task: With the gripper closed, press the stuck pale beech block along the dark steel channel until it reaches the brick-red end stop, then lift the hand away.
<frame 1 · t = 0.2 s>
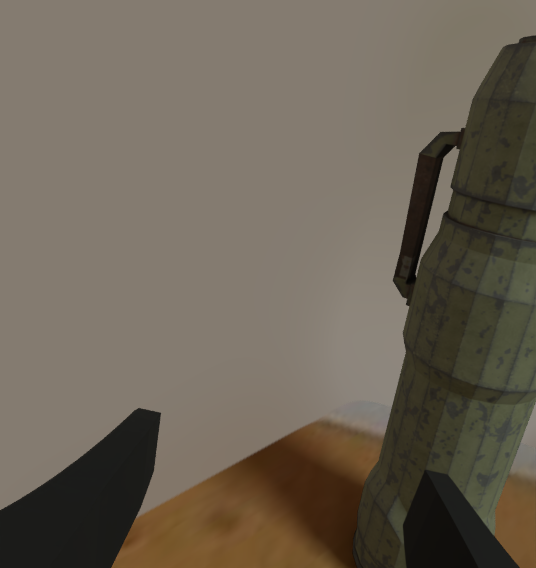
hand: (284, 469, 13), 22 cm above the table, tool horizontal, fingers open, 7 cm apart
thermos: (408, 562, 36), on the table
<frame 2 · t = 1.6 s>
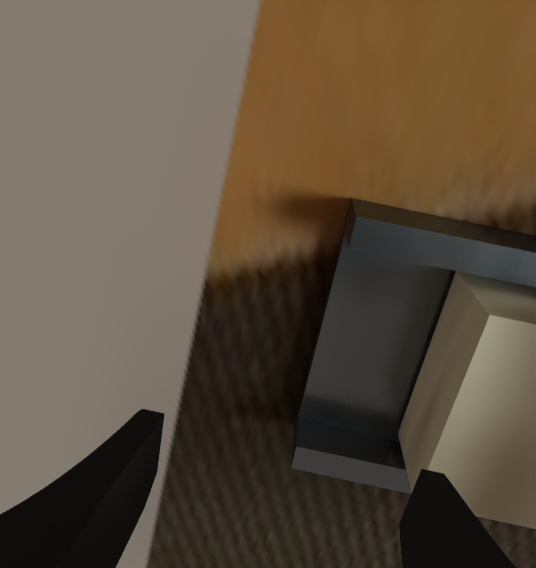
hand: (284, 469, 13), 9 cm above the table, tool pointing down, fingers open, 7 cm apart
block: (513, 401, 19), point 3 cm above the table, slide at 0.0 cm
chute: (518, 364, 22), on the table
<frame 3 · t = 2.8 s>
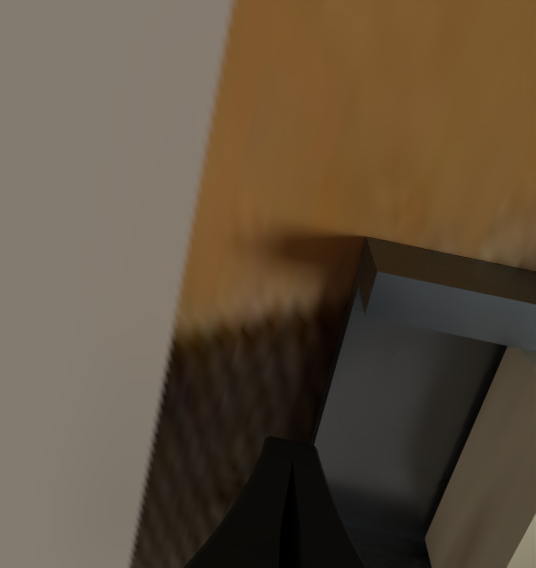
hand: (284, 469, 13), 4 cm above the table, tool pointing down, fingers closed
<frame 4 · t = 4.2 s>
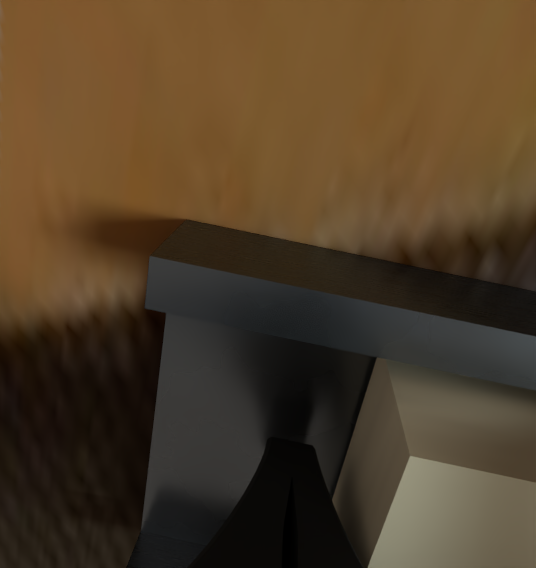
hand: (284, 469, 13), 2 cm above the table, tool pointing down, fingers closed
block: (469, 553, 12), point 3 cm above the table, slide at 1.0 cm, touching gripper
chute: (454, 460, 15), on the table
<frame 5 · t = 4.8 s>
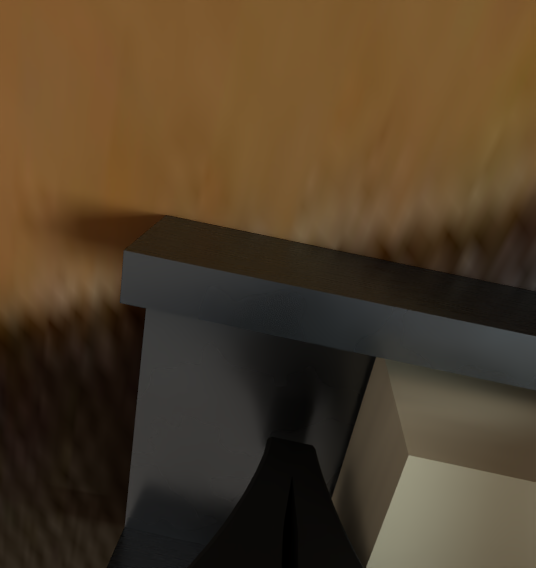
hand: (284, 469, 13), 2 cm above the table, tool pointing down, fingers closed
block: (468, 552, 12), point 3 cm above the table, slide at 1.5 cm, touching gripper
chute: (436, 456, 15), on the table
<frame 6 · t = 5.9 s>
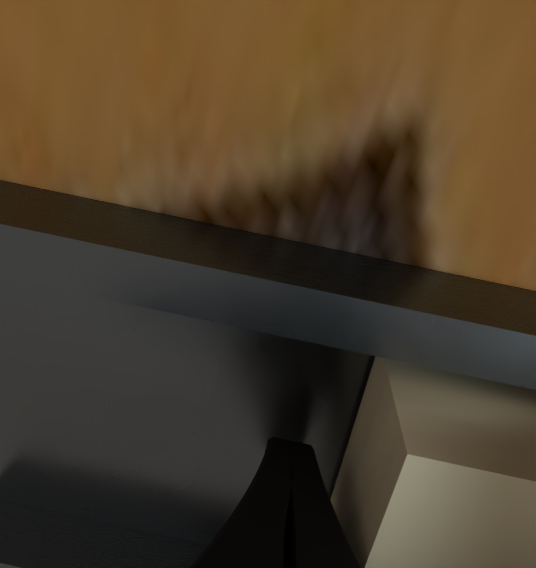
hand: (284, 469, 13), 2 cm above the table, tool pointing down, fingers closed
block: (467, 551, 12), point 3 cm above the table, slide at 6.2 cm, touching gripper
chute: (283, 423, 15), on the table
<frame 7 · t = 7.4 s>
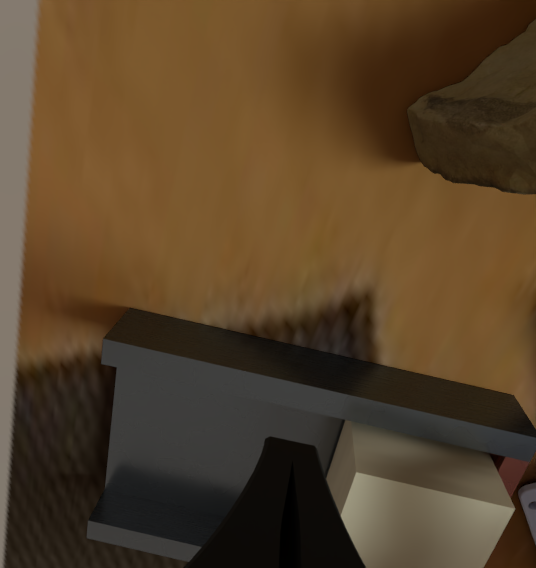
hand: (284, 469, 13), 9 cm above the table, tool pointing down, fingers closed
block: (395, 523, 21), point 3 cm above the table, slide at 6.2 cm
chute: (293, 447, 24), on the table
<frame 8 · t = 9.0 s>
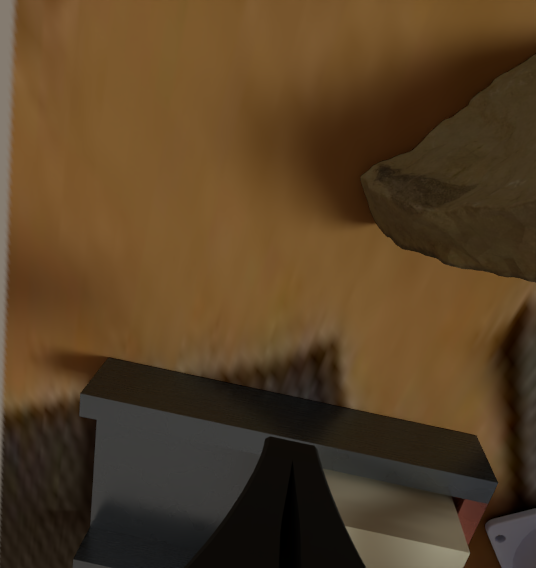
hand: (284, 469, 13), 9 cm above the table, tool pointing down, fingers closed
block: (363, 561, 22), point 3 cm above the table, slide at 6.2 cm
rock: (495, 133, 18), on the table
chute: (269, 485, 25), on the table
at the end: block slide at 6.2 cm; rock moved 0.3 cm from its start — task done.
